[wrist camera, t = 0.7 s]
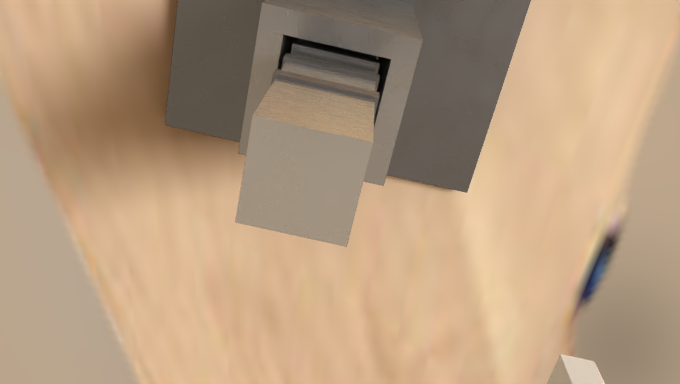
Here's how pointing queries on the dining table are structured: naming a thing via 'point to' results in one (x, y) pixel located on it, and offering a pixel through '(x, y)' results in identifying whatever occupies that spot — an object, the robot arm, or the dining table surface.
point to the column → (311, 143)
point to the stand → (362, 36)
